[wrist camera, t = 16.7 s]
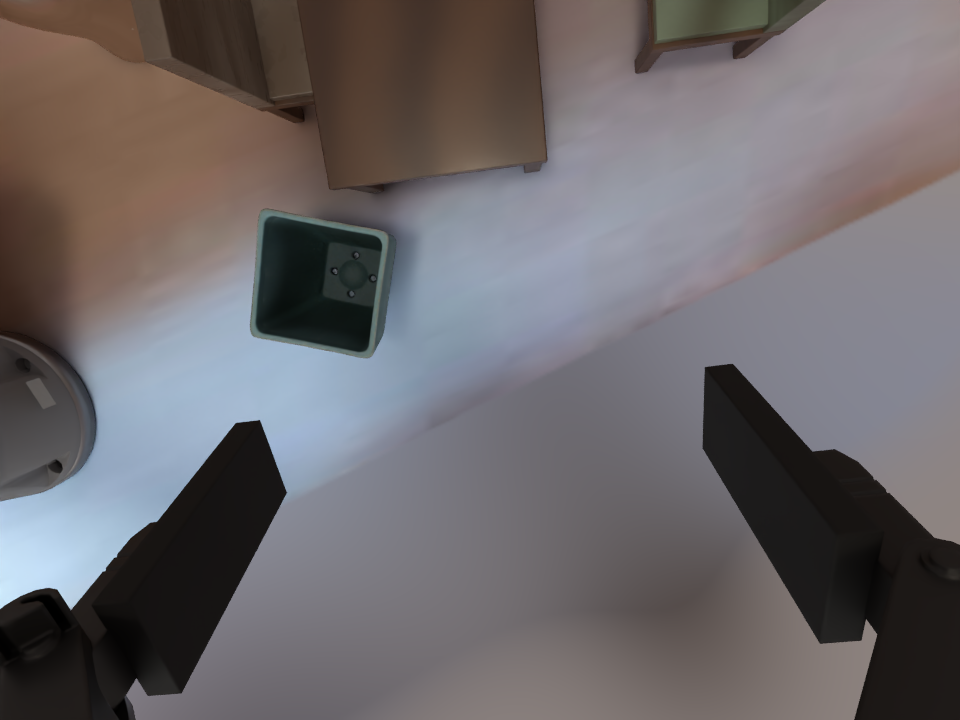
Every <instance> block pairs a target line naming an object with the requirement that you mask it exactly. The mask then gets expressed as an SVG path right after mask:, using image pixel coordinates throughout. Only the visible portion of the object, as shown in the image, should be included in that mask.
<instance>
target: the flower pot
mask: <svg viewBox="0 0 960 720" xmlns="http://www.w3.org/2000/svg"><path fill="white" fill-rule="evenodd" d="M256 248H257V249H256V263H255V277H254V286H253V297H252V310H251V320H250V330H251V334H252V335H253V336H254V337H257V338H261V339H267V340H272V341H278V342H283V343H289V344H295V345H301V346H306V347H311V348H316V349H321V350H326V351H332V352H336V353H341V354H346V355H350V356H355V357H359V358H370V357H371V356H372V355H373V353H374V352H375V350H376V348H377V346H378V344H379V342H380V340H381V338H382V336H383V333H384V328H385V321H386V313H387V306H388V298H389V291H390V284H391V277H392V270H393V263H394V257H395V250H396V240H395V238H394V237H393V236H392V235H390V234H388V233H386V232H384V231H382V230H378V229H372V228H366V227H360V226H354V225H349V224H344V223H338V222H333V221H328V220H322V219H317V218H312V217H307V216H302V215H297V214H291V213H286V212H282V211H277V210H272V209H263V210H261V212H260V214H259V219H258V231H257V247H256ZM354 253H358V254H359V258H358V259H356V258H354V257H353V254H354ZM333 268H336V269H337V270H338V273H337V274H333V273H332V269H333ZM372 275H374V276H375V277H376V280H375V281H374V282H372V281H371V280H370V277H371V276H372ZM349 291H353V292H354V294H355V295H354V296H353V297H350V296H349Z"/></svg>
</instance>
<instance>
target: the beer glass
mask: <svg viewBox="0 0 960 720" xmlns="http://www.w3.org/2000/svg"><path fill="white" fill-rule="evenodd" d="M0 18H1V19H4V20H7V21H10V22H13V23H16V24H18V25H22V26H26V27H30V28H34V29H38V30H42V31H47V32H53V33H58V34H64V35H70V36H75V37H80V38H85V39H88V40H91V41H93V42H95V43H97V44H99V45H100V46H102V47H103V48H104V49H106V50H107V51H109V52H110V53H112V54H113V55H115V56H116V57H118V58H120V59H122V60H125V61H128V62H134V63H141V62H146V61H145V59H144V54H143V50H142V46H141V42H140V37H139V33H138V29H137V25H136V20H135V16H134V12H133V8H132V3H131V0H0Z"/></svg>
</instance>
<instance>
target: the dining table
mask: <svg viewBox="0 0 960 720" xmlns="http://www.w3.org/2000/svg"><path fill="white" fill-rule="evenodd" d="M297 5H298V11H299V16H300V22H301V28H302V34H303V40H304V45H305V51H306V57H307V63H308V68H309V74H310V80H311V86H312V92H313V97H314V103H315V109H316V115H317V121H318V126H319V132H320V138H321V144H322V150H323V155H324V161H325V167H326V173H327V178H328V184H329V189H331V190H340V189H353V190H358V191H363V192H368V193H374V192H382V191H384V189H383V184H386V183H393V182H401V181H409V180H416V179H424V178H432V177H439V176H447V175H454V174H462V173H470V172H477V171H485V170H493V169H500V168H508V167H516V166H523V165H524V172H525V173H529V172H536V171H540V168H541V165H542V163H546V162H547V148H546V136H545V125H544V113H543V101H542V89H541V77H540V65H539V53H538V41H537V29H536V17H535V5H534V0H297Z"/></svg>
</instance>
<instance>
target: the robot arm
mask: <svg viewBox="0 0 960 720" xmlns="http://www.w3.org/2000/svg"><path fill="white" fill-rule="evenodd" d="M704 383H705V384H704V418H703V450H704V451H705V453H706V455H707V456H708V458H709V460H710V461H711V462H712V465H713V466H714V468H715V469H716V471H717V473H718V474H719V476H720V478H721V479H722V481H723V483H724V485H725V486H726V488H727V489H728V491H729V493H730V494H731V496H732V498H733V500H734V501H735V503H736V504H737V506H738V508H739V510H740V511H741V513H742V515H743V516H744V518H745V520H746V521H747V523H748V524H749V526H750V528H751V530H752V531H753V533H754V534H755V536H756V538H757V539H758V541H759V543H760V545H761V546H762V548H763V549H764V551H765V553H766V554H767V556H768V558H769V559H770V561H771V563H772V564H773V566H774V567H775V569H776V571H777V573H778V574H779V576H780V578H781V579H782V581H783V583H784V584H785V586H786V588H787V589H788V591H789V593H790V594H791V596H792V598H793V599H794V601H795V603H796V604H797V606H798V608H799V609H800V611H801V612H802V614H803V616H804V618H805V619H806V621H807V623H808V624H809V626H810V628H811V629H812V631H813V633H814V634H815V636H816V638H817V639H818V641H819V643H820V644H823V643H836V642H848V641H861V640H862V635H863V630H864V625H865V621H866V619H867V621H868V622H869V623H870V625H871V626H872V627H873V629H874V630H875V632H876V633H877V638H876V642H875V646H874V649H873V653H872V657H871V660H870V664H869V668H868V671H867V675H866V679H865V682H864V686H863V690H862V694H861V697H860V701H859V705H858V708H857V712H856V716H855V719H854V720H960V545H959V544H956V543H954V542H951V541H946V540H941V539H937V538H934V537H933V536H932V535H931V534H930V533H929V532H928V531H927V530H926V529H925V528H924V527H923V526H922V525H921V524H920V523H919V522H918V521H917V520H916V519H915V518H914V517H913V516H912V515H911V514H910V513H909V512H908V511H907V510H906V509H905V508H904V507H903V506H902V505H901V504H900V503H899V502H898V501H897V500H895V498H894V497H893V496H892V495H891V494H890V493H887V492H886V489H885V488H884V487H883V486H882V485H881V484H880V483H879V482H878V481H877V480H874V479H873V476H871V474H870V473H869V472H868V471H867V470H866V469H864V467H863V466H862V465H861V464H859V462H857V461H855V460H854V459H852V458H850V457H848V456H846V455H844V454H843V453H841V452H839V451H837V450H835V449H833V450H824V451H815V452H812V451H811V450H810V448H809V447H808V446H807V445H806V444H805V443H804V442H803V441H802V440H801V439H800V437H799V436H798V435H797V434H796V433H795V432H794V431H793V430H792V429H791V428H790V426H789V425H788V424H787V423H786V422H785V421H784V420H783V419H782V418H781V416H779V414H778V413H777V412H776V411H775V410H774V409H773V408H772V407H771V405H770V404H769V403H768V402H767V401H766V400H765V399H764V398H763V397H762V395H761V394H760V393H759V392H758V391H757V390H756V389H755V388H754V387H753V386H752V384H751V383H750V382H749V381H748V380H747V379H746V378H745V377H744V376H743V375H742V373H741V372H740V371H739V370H738V369H737V368H736V367H735V366H734V365H733V364H727V365H719V366H711V367H705V382H704ZM94 439H95V416H94V411H93V407H92V403H91V400H90V398H89V395H88V393H87V391H86V389H85V387H84V385H83V383H82V382H81V380H80V378H79V377H78V375H77V374H76V373H75V372H74V370H73V369H72V368H71V367H70V366H69V365H68V363H67V362H66V361H65V360H64V359H62V358H61V357H60V356H59V355H58V354H57V353H55V352H54V351H53V350H52V349H50V348H48V347H47V346H45V345H44V344H42V343H40V342H38V341H36V340H34V339H32V338H30V337H27V336H24V335H21V334H17V333H12V332H4V331H0V501H4V500H9V499H14V498H19V497H24V496H29V495H33V494H37V493H41V492H44V491H47V490H49V489H51V488H53V487H55V486H56V485H58V484H60V483H62V482H64V481H65V480H67V479H69V478H70V477H72V476H73V475H74V474H76V473H77V472H78V471H79V470H80V469H81V468H82V467H83V465H84V464H85V462H86V461H87V459H88V457H89V456H90V453H91V451H92V448H93V444H94ZM286 493H287V492H286V489H285V487H284V484H283V481H282V478H281V476H280V473H279V470H278V468H277V465H276V462H275V460H274V457H273V454H272V451H271V449H270V446H269V443H268V441H267V438H266V435H265V432H264V430H263V427H262V424H261V422H260V420H258V421H250V422H241V423H236V424H235V425H234V426H233V427H232V429H231V430H230V431H229V432H228V434H227V435H226V436H225V437H224V439H223V440H222V441H221V442H220V444H219V445H218V446H217V447H216V449H215V450H214V451H213V452H212V454H211V455H210V456H209V457H208V459H207V460H206V461H205V462H204V464H203V465H202V466H201V467H200V469H199V470H198V471H197V472H196V474H195V475H194V476H193V478H192V479H191V480H190V481H189V483H188V484H187V485H186V486H185V488H184V489H183V490H182V491H181V493H180V494H179V495H178V496H177V498H176V499H175V500H174V501H173V503H172V504H171V505H170V506H169V508H168V509H167V510H166V511H165V513H164V514H163V515H162V516H161V518H160V519H159V520H158V521H157V522H153V523H149V524H148V525H147V526H146V527H144V528H143V529H142V530H141V531H139V532H138V533H137V534H135V535H134V536H133V537H132V538H130V540H129V541H128V542H127V543H126V545H125V546H124V547H123V548H122V549H121V551H120V552H119V553H118V554H117V558H114V559H113V560H112V561H111V563H110V564H109V565H108V566H107V567H106V571H105V572H102V574H101V575H100V576H99V577H98V578H97V580H96V581H95V582H94V583H93V584H92V586H91V587H90V588H89V589H88V590H87V592H86V593H85V594H84V595H83V596H82V598H81V599H80V600H79V601H78V603H77V604H76V605H75V606H74V607H73V609H72V610H70V609H69V607H68V605H67V604H66V602H65V601H64V599H63V598H62V596H61V595H60V593H59V592H58V590H56V589H51V588H45V589H40V590H35V591H32V592H30V593H27V594H25V595H22V596H20V597H19V598H17V599H15V600H13V601H12V602H10V603H8V604H7V605H5V606H4V607H3V608H1V609H0V720H136V719H135V715H134V710H133V706H132V704H131V702H130V701H129V699H128V698H127V696H126V694H127V692H128V691H129V689H130V687H131V686H132V684H133V683H134V681H135V679H136V678H137V679H138V681H139V683H140V684H141V686H142V687H143V689H144V690H145V692H146V694H147V695H148V696H153V695H166V694H178V693H182V691H183V689H184V688H185V686H186V684H187V682H188V680H189V678H190V676H191V674H192V672H193V670H194V669H195V667H196V665H197V663H198V661H199V659H200V657H201V655H202V653H203V651H204V650H205V648H206V646H207V644H208V642H209V640H210V638H211V636H212V634H213V632H214V630H215V629H216V627H217V625H218V623H219V621H220V619H221V617H222V615H223V613H224V611H225V610H226V608H227V606H228V604H229V602H230V600H231V598H232V596H233V594H234V592H235V591H236V588H237V587H238V585H239V583H240V581H241V579H242V577H243V575H244V573H245V571H246V570H247V568H248V566H249V564H250V562H251V560H252V558H253V556H254V554H255V552H256V551H257V549H258V547H259V545H260V543H261V541H262V539H263V537H264V535H265V533H266V532H267V530H268V528H269V526H270V524H271V522H272V520H273V518H274V516H275V514H276V513H277V510H278V509H279V507H280V505H281V503H282V501H283V499H284V497H285V495H286Z"/></svg>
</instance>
